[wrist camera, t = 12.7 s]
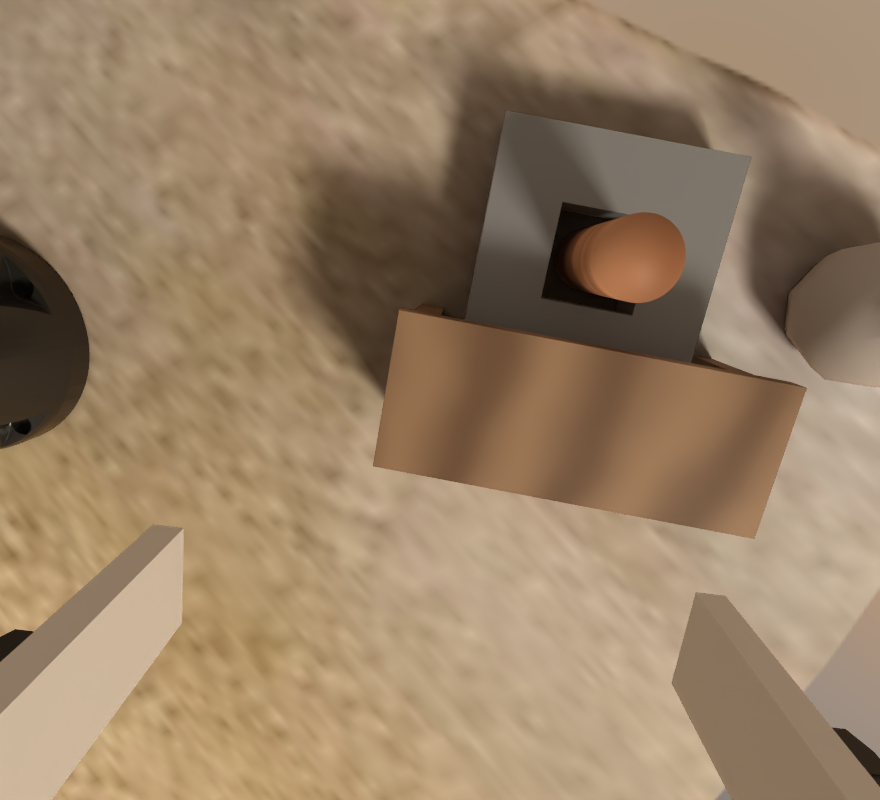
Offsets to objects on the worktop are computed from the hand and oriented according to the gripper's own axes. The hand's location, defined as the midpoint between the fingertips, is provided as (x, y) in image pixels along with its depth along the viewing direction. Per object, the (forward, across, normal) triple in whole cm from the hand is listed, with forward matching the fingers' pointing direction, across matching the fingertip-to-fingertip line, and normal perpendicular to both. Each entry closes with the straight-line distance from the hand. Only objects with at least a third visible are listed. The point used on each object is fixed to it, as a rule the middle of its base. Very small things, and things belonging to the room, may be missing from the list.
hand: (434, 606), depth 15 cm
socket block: (+26, +8, +10) cm, 29 cm away
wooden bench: (+26, +8, +1) cm, 27 cm away
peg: (+26, +8, +10) cm, 29 cm away
